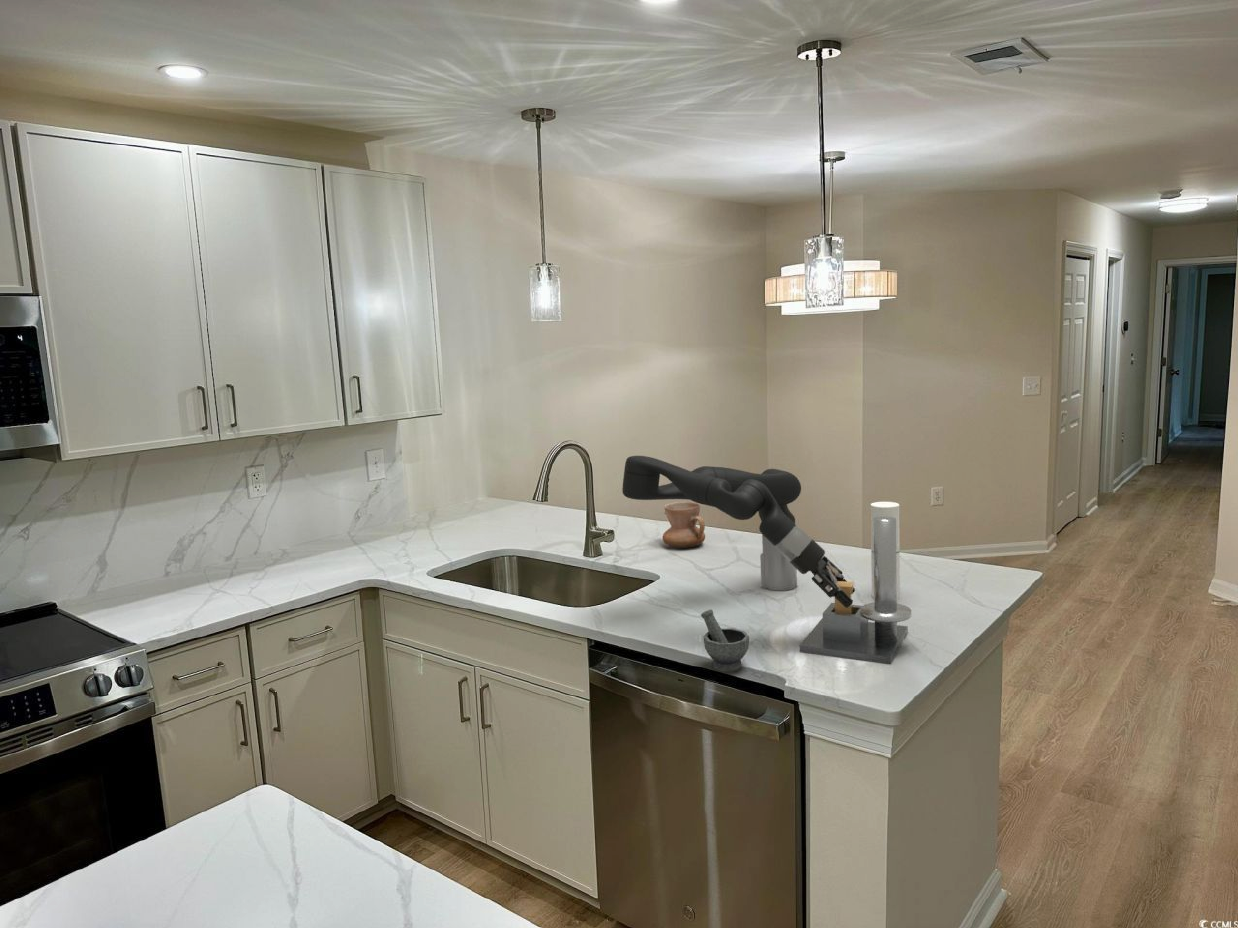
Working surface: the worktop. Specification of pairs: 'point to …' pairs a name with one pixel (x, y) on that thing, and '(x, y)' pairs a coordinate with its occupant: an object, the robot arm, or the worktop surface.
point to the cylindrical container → (893, 511)
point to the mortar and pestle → (724, 644)
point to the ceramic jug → (684, 525)
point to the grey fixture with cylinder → (867, 612)
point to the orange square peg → (848, 589)
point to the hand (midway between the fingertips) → (851, 598)
